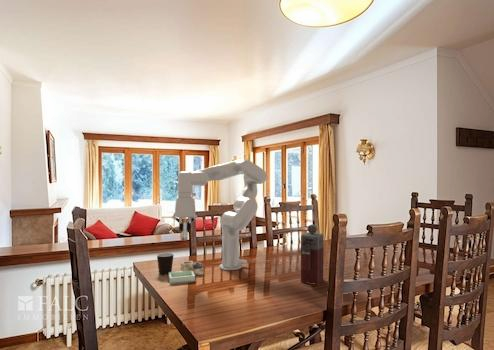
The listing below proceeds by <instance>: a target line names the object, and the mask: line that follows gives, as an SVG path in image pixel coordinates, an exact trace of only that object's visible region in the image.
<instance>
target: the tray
mask: <svg viewBox="0 0 494 350" xmlns="http://www.w3.org/2000/svg"><path fill="white" fill-rule="evenodd" d="M168 282H169V285H176V284H185V283H195V282H196V275H194V273H193V271H192V270H189V271H181V270H179V271H172V272H169V275H168Z"/></svg>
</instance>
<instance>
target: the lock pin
mask: <svg viewBox="0 0 494 350" xmlns="http://www.w3.org/2000/svg"><path fill="white" fill-rule="evenodd" d="M181 222H182V231H181V241H185V242H186V241H188V238H189V236H188V235H189V233H188V232H189V231H188V217H182V221H181Z"/></svg>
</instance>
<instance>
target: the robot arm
mask: <svg viewBox="0 0 494 350" xmlns="http://www.w3.org/2000/svg"><path fill="white" fill-rule="evenodd" d="M239 175H243V182H244V186H243V187H244V188H243V189H242V191H241V193H240V194H239V195H238V196H237V198H236V199H235V200H234V202H233V205H232V207H233V210H234V211H225V212H224V213H223V214H222V215H221V217H220V226H221V238H222V239H221V241H222V243H221V251H222V252H221V258H222V259H221V264H219V266H218V267H219V269H221V270H224V271H236V270H240V269H242V267H243V264H244V265H246V264H248V260H247V259H240V233H239V231H242V230H243V231H244V230H245V229H246V228H247V226H248V225H249V223H250V222H251V221H252V219H253V218H254V216H256V213H257V211H258V202H257V200H255V199H256V197H257V196H258V184H259V185H262V184H264V183H265V182H266V181H267V180H268V179H267V178H268V175H267V173H266V171H265V169H263V168H262V167H260V166H258V165H257V164H255V163H254V162H253V161H251V160H248V159H236V160H232V161H229V162H225V163H221V164H217V165H212V166H210V167H206V168H205V167H204V168H201V169H197V170H194V171H180V172H179V173H178V183H177V184H178V186H177V187H178V188H177V190H178V192H177V197H176V199H175V206H174V207H175V208H174V213H173V215H172V216H171V218H172V219H173V220H175V221H176V222H177V223H178V224H179V226H178V230H180V232H182V219H183V218H187V219H188V232H189V231H190V230H191V226H192V222H194V220H195V221H196V219H198V218H199V216H198V215H197V212H196V203H195V198H194V197H196V195H197V194H196V193H194V186H196V187H197V186H198V187H203V186H206V185H208V183H209V182H211V181H222V180H225V179H229V178H232V177H235V176H239Z"/></svg>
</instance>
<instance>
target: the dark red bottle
mask: <svg viewBox="0 0 494 350" xmlns="http://www.w3.org/2000/svg"><path fill="white" fill-rule="evenodd" d="M317 231H318V227H317V225H315V224H310V225H308V226H307V232H305V233H303V234H301V235H300V283H302V282H309V283H315V284H319V283H320V282H321V281H322V280H323V281H324V233H321V232H317ZM323 281H322V282H323ZM322 282H321V283H322ZM321 283H320V284H321ZM320 284H319V285H320Z"/></svg>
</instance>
